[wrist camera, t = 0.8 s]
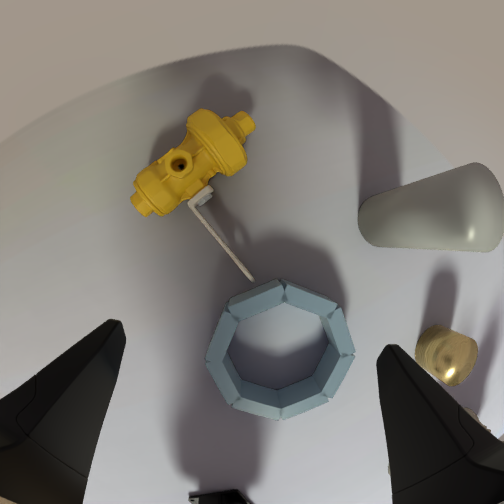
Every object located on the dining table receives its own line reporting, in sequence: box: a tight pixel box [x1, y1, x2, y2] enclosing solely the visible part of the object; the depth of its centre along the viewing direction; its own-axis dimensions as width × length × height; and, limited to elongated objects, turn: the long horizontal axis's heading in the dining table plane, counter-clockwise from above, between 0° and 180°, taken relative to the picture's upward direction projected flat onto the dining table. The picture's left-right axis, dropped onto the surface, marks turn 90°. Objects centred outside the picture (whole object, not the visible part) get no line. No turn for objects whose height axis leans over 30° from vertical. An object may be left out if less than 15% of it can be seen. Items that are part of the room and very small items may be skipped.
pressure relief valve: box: [130, 108, 256, 283], centre depth 19 cm, size 6×12×10 cm
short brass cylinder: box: [415, 325, 478, 386], centre depth 20 cm, size 5×5×5 cm
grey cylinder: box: [358, 163, 504, 252], centre depth 16 cm, size 4×4×12 cm
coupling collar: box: [205, 279, 356, 420], centre depth 20 cm, size 10×10×3 cm
